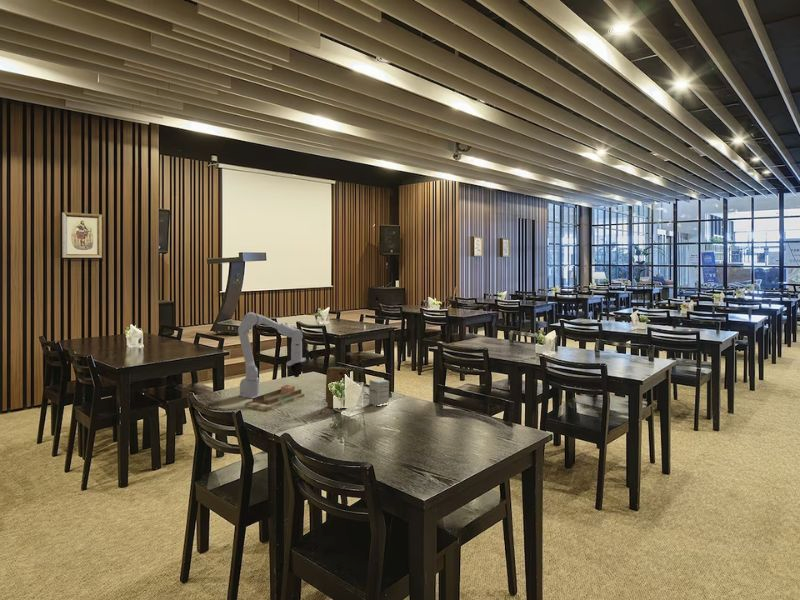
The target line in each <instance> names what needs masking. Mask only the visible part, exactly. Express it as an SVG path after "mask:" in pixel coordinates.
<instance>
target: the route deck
mask: <svg viewBox="0 0 800 600" xmlns="http://www.w3.org/2000/svg"><path fill="white" fill-rule="evenodd" d="M303 397H304V398H305V393H302V389H297V390H296V389H295V391H294V392H291V393H288V394H285V395H281V388H280V389H277V390H273V391H270V392H268V393H264V394H262V395H261V396H258V397H255V398H252V400H250V401H247V402H245V404H244V406H246V407H245V408H248V407H251V408H250V409H253V408H256V409H255V410H259V409H261V410H260V411H264V410H266V411H265V412H269V410H270V411H272V409H273V410H276V409H278V408H280V406H281V407H284V406H286V405H287V404H291V403H293V401H294V402H297V401H298V399H299V400H301V399H300V398H302V399H304V398H303ZM285 404H286V405H285ZM277 407H278V408H277Z"/></svg>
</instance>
